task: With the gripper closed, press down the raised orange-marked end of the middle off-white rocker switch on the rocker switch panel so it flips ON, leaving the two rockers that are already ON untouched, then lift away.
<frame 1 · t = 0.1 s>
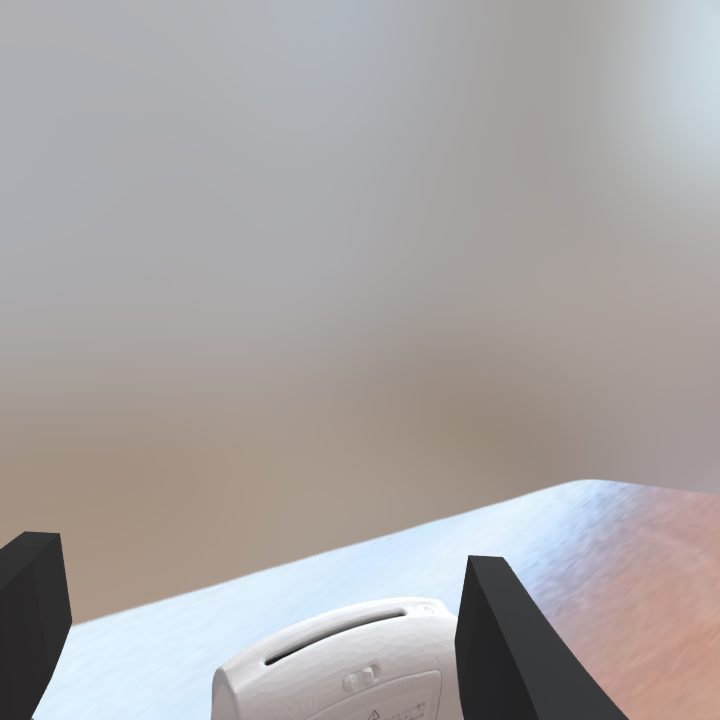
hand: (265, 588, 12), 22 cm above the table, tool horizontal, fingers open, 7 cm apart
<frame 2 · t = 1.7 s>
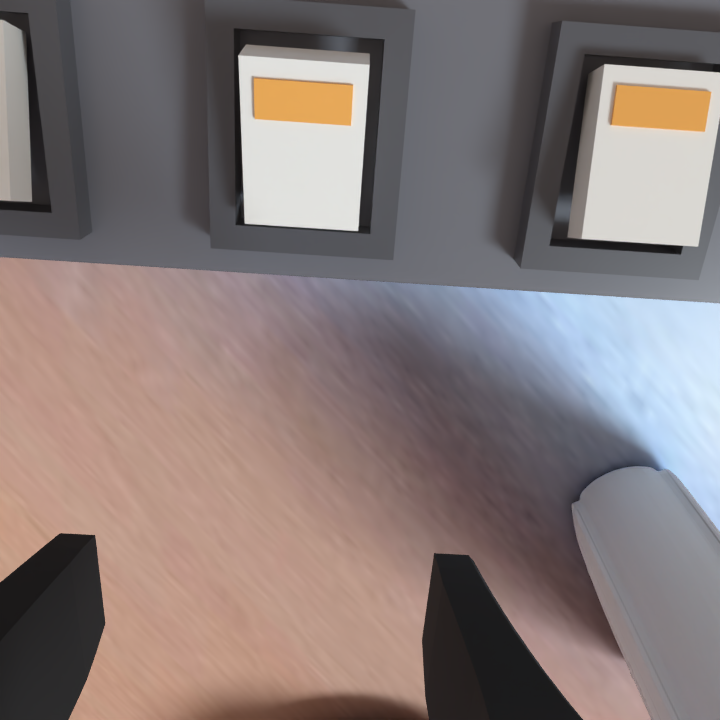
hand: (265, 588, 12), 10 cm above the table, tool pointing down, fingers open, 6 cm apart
rocker 1: (643, 159, 15), point 4 cm above the table, hinge at -12.0°
rocker switch panel: (316, 122, 19), on the table
middle rocker: (304, 142, 15), point 4 cm above the table, hinge at 12.0°
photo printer: (647, 568, 25), on the table
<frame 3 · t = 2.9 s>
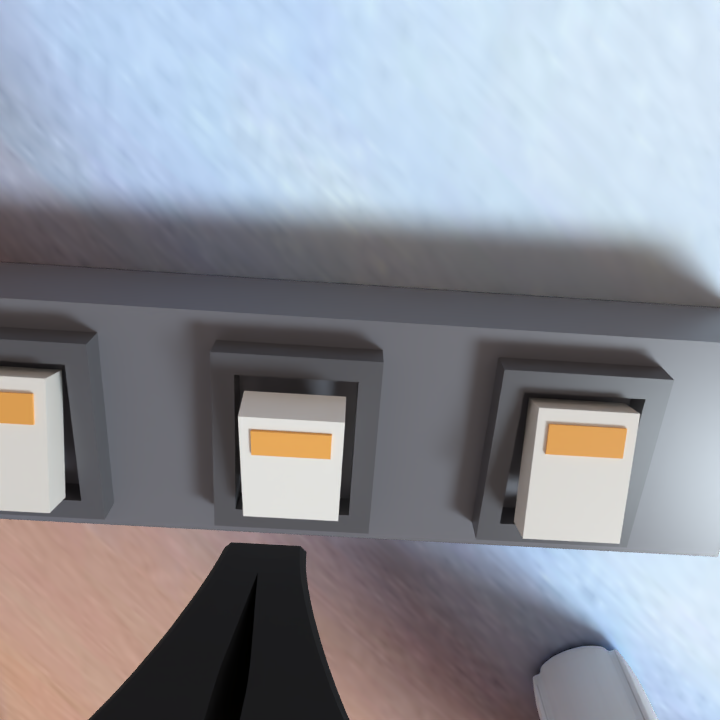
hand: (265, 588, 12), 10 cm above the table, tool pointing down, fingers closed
rocker 1: (574, 470, 18), point 4 cm above the table, hinge at -12.0°
rocker switch panel: (304, 386, 22), on the table
middle rocker: (292, 459, 18), point 4 cm above the table, hinge at 12.0°
rocker 2: (4, 438, 18), point 4 cm above the table, hinge at -12.0°
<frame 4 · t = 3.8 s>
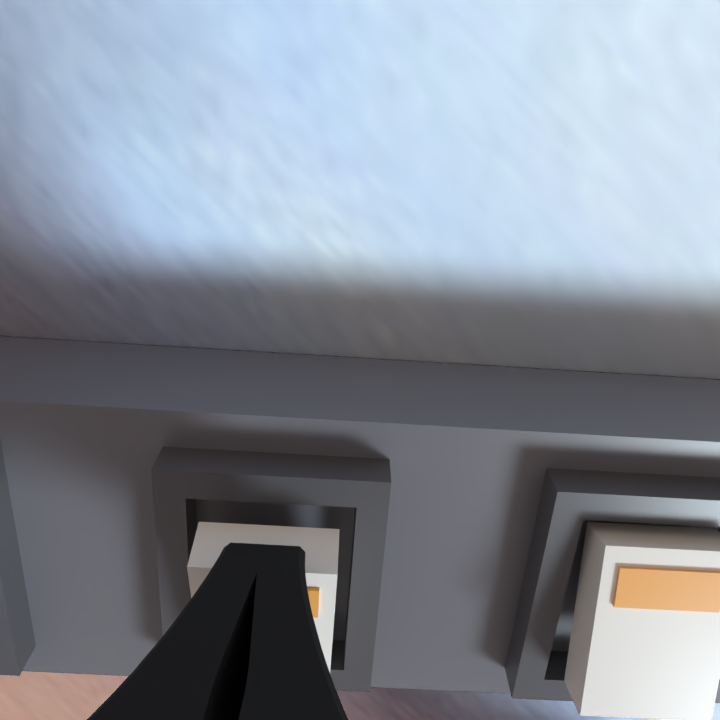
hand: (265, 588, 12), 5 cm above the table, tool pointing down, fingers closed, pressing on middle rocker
rocker 1: (649, 622, 13), point 4 cm above the table, hinge at -12.0°
rocker switch panel: (288, 481, 17), on the table
middle rocker: (267, 608, 13), point 4 cm above the table, hinge at 12.0°, touching gripper
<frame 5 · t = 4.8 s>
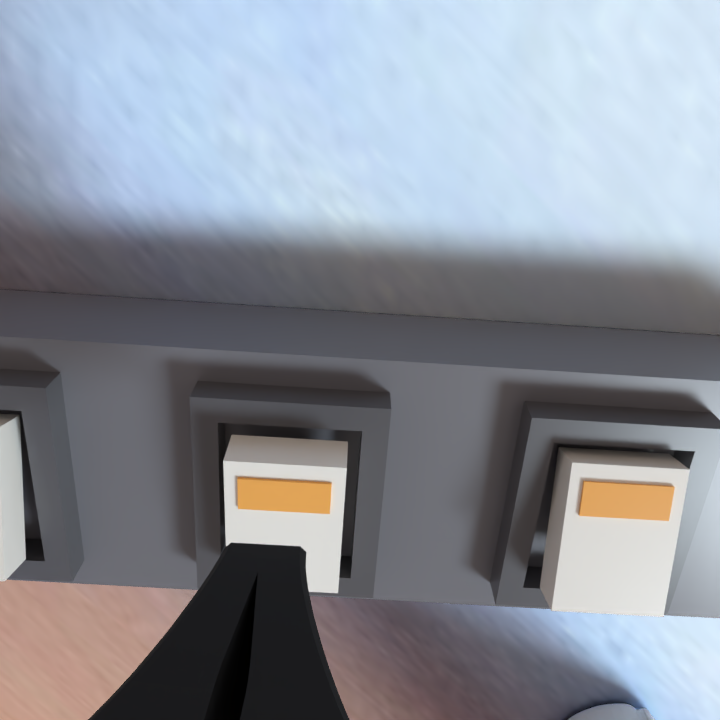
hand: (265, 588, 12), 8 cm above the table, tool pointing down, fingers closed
rocker 1: (611, 532, 16), point 4 cm above the table, hinge at -12.0°
rocker switch panel: (301, 424, 19), on the table
middle rocker: (286, 516, 15), point 4 cm above the table, hinge at 2.7°
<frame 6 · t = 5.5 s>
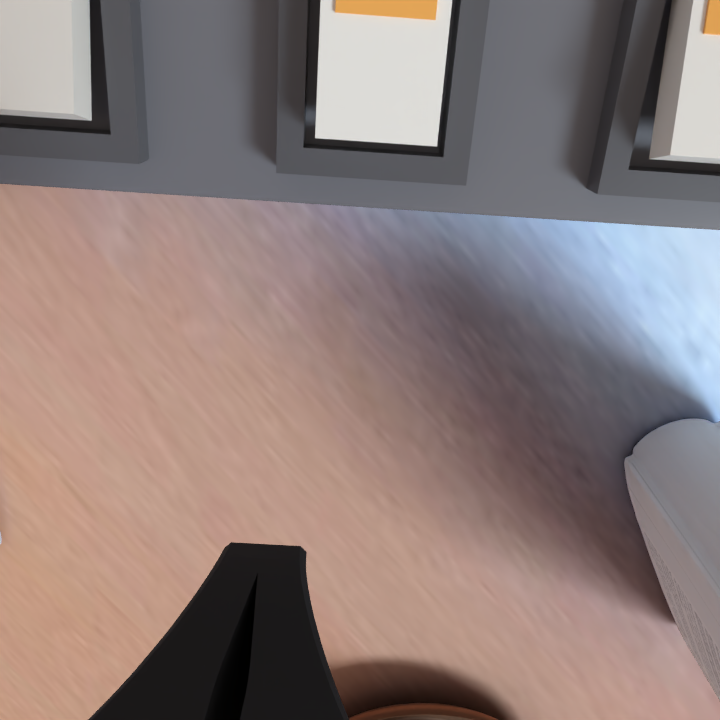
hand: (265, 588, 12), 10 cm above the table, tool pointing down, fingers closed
rocker switch panel: (374, 52, 18), on the table
middle rocker: (381, 50, 14), point 4 cm above the table, hinge at -1.8°
rocker 2: (16, 20, 14), point 4 cm above the table, hinge at -12.0°
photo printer: (697, 527, 25), on the table
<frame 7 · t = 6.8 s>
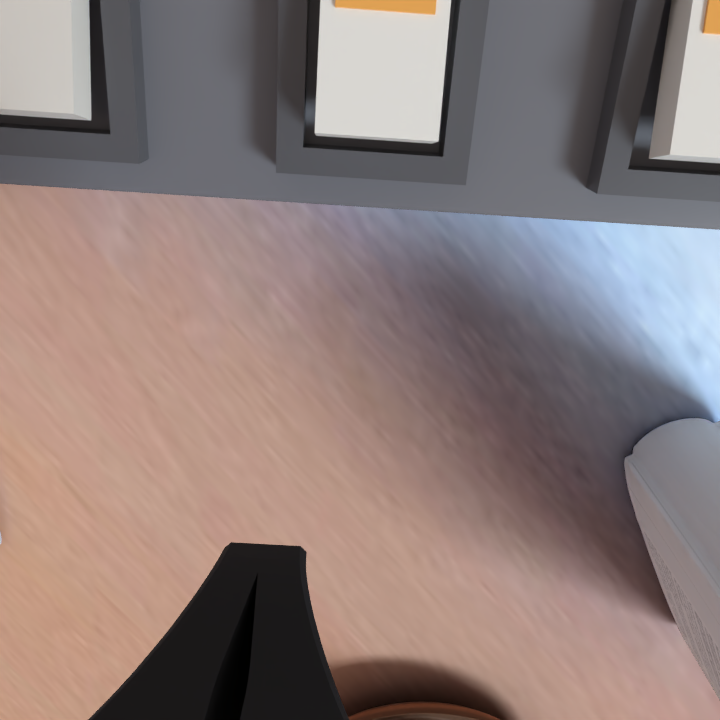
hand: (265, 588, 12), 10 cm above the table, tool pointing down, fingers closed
rocker switch panel: (374, 52, 18), on the table
middle rocker: (381, 48, 14), point 4 cm above the table, hinge at -8.8°
rocker 2: (15, 20, 14), point 4 cm above the table, hinge at -12.0°
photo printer: (697, 526, 25), on the table
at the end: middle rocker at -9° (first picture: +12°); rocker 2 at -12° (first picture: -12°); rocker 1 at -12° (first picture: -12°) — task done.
